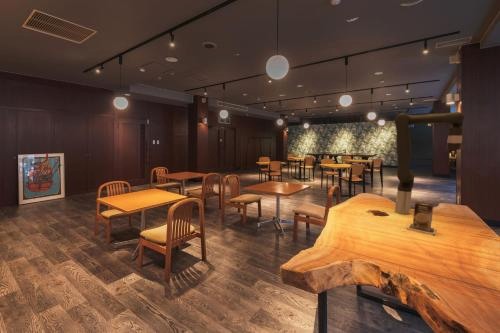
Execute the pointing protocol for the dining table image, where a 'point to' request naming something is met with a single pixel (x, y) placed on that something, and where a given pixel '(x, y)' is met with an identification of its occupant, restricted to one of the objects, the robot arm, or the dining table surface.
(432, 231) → the mat
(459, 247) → the dining table surface
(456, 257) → the dining table surface
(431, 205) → the coffee box
